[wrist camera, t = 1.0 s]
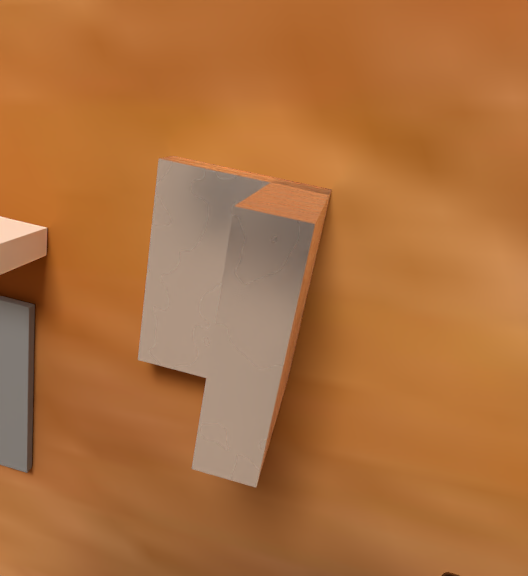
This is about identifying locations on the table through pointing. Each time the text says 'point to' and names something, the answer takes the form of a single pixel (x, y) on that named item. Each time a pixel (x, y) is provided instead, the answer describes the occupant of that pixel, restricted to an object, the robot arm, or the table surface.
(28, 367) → the pad
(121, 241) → the table surface
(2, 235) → the white l-shaped block
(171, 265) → the aluminium bracket
